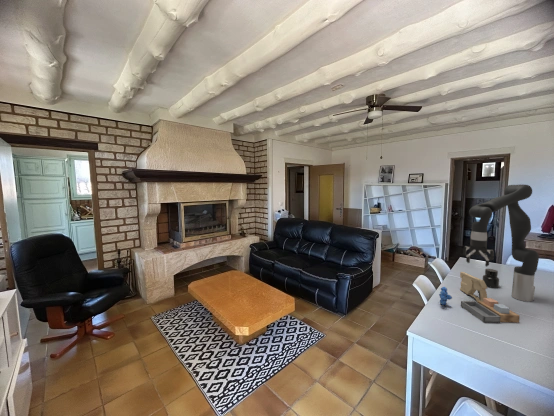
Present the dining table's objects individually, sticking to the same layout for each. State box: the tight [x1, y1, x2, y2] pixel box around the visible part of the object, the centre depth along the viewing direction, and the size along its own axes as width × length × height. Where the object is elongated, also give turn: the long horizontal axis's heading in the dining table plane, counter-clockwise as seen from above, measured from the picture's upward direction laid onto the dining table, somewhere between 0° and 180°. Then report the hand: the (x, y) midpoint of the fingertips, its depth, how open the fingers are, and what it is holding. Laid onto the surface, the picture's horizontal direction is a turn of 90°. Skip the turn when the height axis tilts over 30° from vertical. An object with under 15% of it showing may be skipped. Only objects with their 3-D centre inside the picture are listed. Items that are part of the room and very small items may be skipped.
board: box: [477, 301, 520, 323], centre depth 132 cm, size 10×15×4 cm, turn 177°
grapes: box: [438, 286, 453, 306], centre depth 142 cm, size 12×7×12 cm, turn 140°
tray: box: [460, 300, 501, 324], centre depth 133 cm, size 8×17×4 cm, turn 177°
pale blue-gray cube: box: [494, 303, 511, 314], centre depth 128 cm, size 4×4×3 cm
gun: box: [459, 271, 488, 303], centre depth 152 cm, size 24×3×15 cm, turn 169°
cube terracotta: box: [483, 297, 499, 307], centre depth 135 cm, size 4×4×3 cm
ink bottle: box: [482, 268, 500, 289], centre depth 170 cm, size 10×9×12 cm
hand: (477, 264), depth 143 cm, fingers open, 8 cm apart
